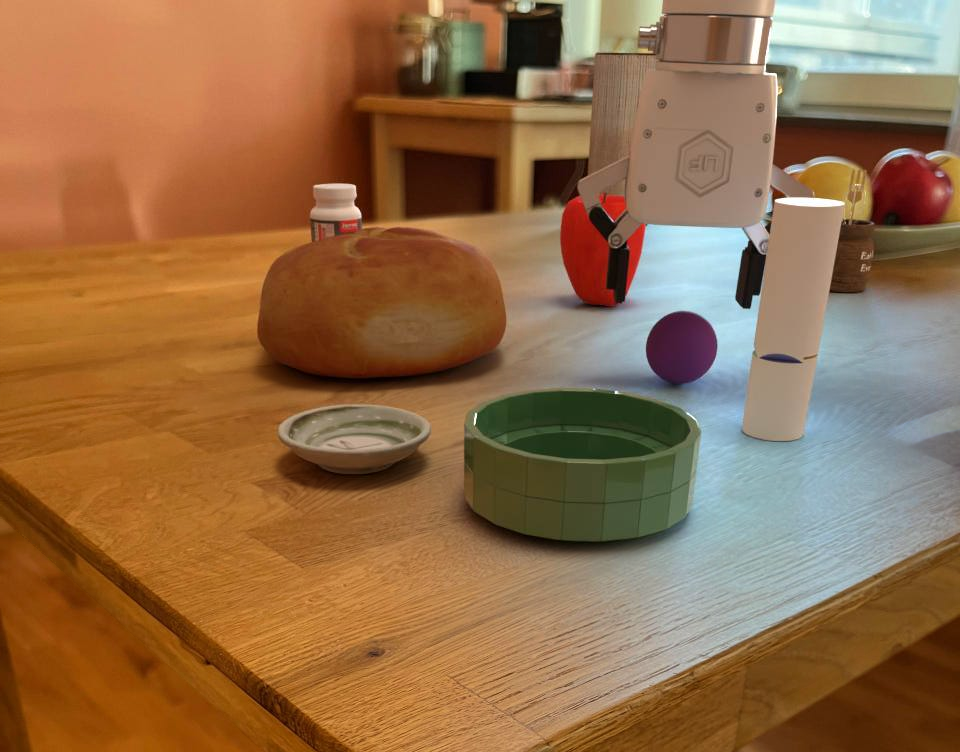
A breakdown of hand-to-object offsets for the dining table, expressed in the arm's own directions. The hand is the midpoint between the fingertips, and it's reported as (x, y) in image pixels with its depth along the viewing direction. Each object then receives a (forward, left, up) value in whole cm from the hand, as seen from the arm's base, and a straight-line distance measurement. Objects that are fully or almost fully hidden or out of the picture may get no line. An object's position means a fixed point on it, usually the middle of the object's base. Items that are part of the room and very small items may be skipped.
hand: (680, 302), depth 79 cm
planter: (-1, -87, -6) cm, 87 cm away
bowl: (+9, +26, -6) cm, 28 cm away
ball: (0, 0, -4) cm, 3 cm away
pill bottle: (+34, -38, -6) cm, 51 cm away
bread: (+25, -7, -6) cm, 26 cm away
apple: (+5, -29, -6) cm, 30 cm away
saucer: (+23, +20, -6) cm, 31 cm away
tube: (-6, +12, -6) cm, 15 cm away
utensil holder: (-23, -40, -6) cm, 47 cm away
